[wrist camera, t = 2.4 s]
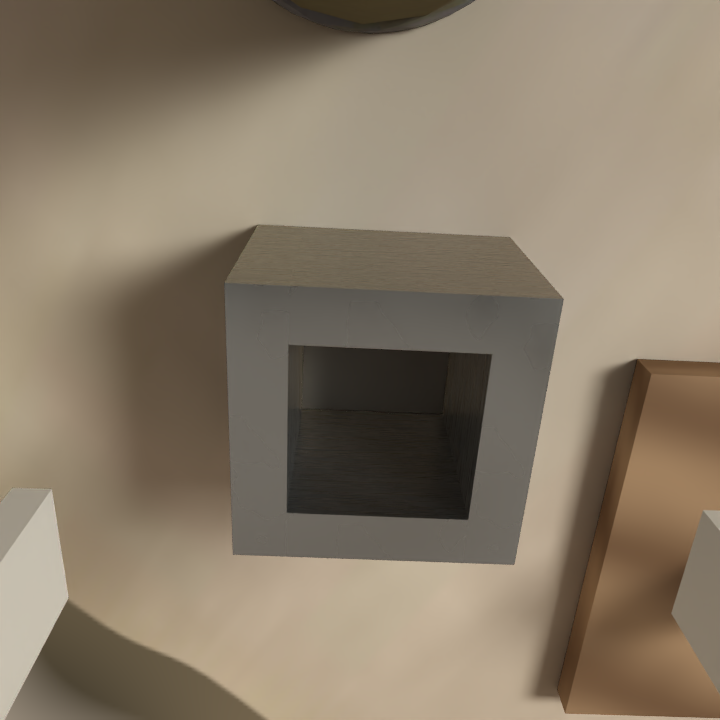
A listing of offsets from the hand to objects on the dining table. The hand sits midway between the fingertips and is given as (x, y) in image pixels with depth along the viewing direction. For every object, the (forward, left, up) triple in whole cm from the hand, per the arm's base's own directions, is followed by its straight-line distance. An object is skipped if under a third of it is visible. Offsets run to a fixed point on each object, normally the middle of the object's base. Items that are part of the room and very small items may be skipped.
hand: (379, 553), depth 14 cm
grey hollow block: (0, 0, -10) cm, 10 cm away
